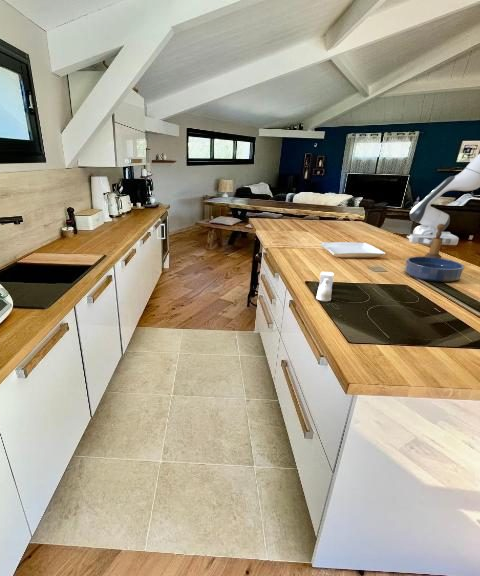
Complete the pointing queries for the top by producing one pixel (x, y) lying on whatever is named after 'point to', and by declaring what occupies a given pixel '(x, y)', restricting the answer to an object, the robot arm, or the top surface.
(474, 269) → the top surface
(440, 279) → the bowl
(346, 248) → the square plate
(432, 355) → the top surface
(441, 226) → the mortar and pestle
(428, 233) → the robot arm
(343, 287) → the top surface
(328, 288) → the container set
